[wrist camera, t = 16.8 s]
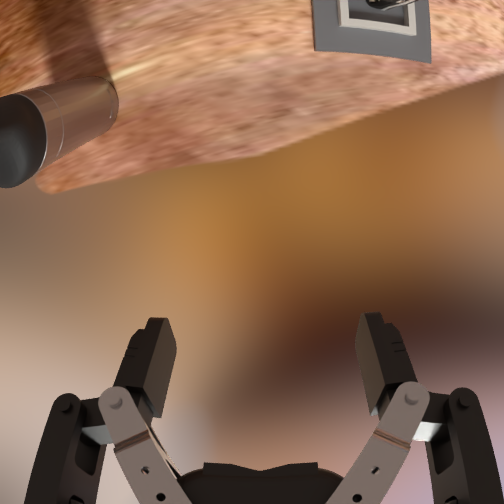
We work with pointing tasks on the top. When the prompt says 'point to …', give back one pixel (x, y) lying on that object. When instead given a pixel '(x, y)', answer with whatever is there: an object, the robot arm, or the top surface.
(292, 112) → the top surface
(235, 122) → the top surface
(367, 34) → the holder
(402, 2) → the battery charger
